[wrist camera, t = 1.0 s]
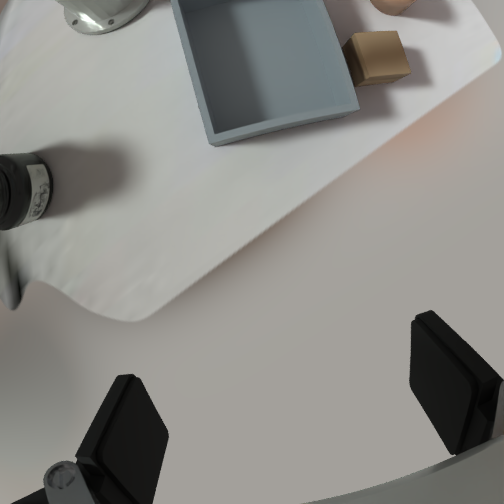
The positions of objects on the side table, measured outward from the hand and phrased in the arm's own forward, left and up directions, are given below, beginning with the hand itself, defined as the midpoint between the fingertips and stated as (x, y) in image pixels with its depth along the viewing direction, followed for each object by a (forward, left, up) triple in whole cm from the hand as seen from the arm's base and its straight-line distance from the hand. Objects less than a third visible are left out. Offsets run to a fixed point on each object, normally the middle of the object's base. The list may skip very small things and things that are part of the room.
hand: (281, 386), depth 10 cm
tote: (-18, +5, -27) cm, 33 cm away
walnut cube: (-15, +17, -27) cm, 35 cm away
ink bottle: (-13, -27, -27) cm, 41 cm away
